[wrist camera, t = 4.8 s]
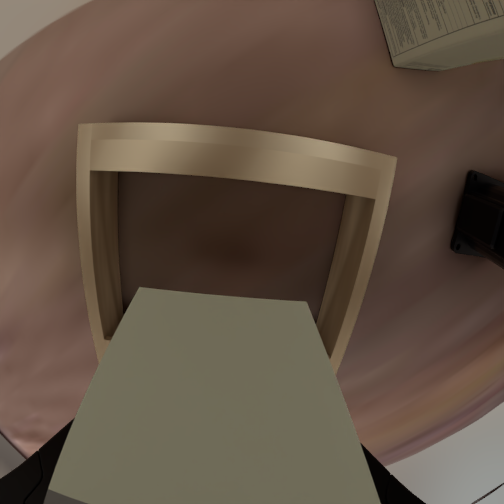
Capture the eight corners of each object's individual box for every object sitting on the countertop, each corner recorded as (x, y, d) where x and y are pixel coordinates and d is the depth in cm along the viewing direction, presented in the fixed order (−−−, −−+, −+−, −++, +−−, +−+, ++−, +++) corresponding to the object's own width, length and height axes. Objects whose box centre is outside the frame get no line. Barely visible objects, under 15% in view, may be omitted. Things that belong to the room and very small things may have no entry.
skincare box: (440, 72, 15) (584, 61, 3) (390, 68, 15) (544, 33, 3) (419, -6, 12) (535, -58, 1) (368, -15, 12) (476, -98, 1)
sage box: (306, 301, 9) (403, 579, 2) (278, 407, 11) (307, 596, 3) (139, 286, 8) (27, 562, 1) (151, 397, 10) (116, 586, 3)
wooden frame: (365, 151, 17) (397, 157, 13) (319, 347, 22) (332, 383, 18) (109, 124, 15) (78, 124, 12) (116, 329, 21) (98, 364, 17)
